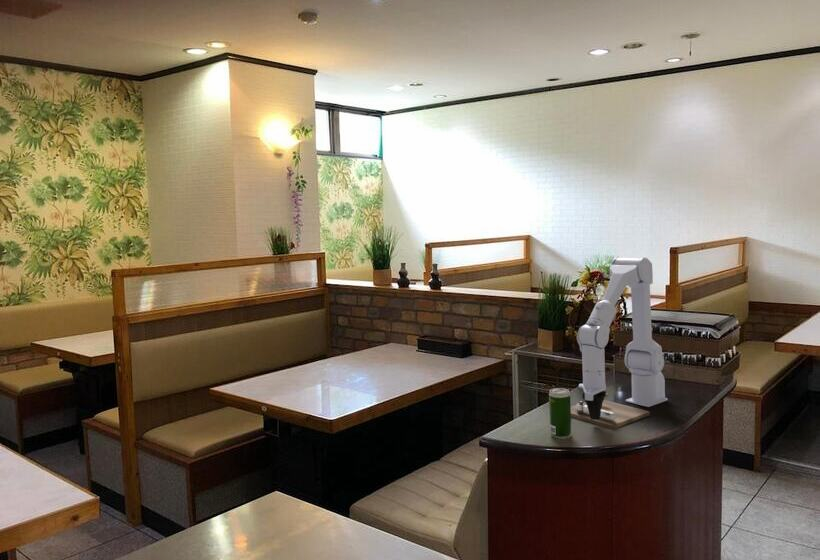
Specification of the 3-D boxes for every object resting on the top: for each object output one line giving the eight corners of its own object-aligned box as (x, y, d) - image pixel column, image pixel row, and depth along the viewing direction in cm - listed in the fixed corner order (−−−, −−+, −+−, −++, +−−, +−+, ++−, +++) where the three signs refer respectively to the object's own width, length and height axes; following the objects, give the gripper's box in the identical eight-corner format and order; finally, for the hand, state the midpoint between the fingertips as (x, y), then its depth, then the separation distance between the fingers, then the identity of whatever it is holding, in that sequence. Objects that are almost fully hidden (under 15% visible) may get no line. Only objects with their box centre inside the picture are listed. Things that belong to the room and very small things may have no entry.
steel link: (574, 411, 184) (574, 401, 183) (580, 409, 185) (580, 399, 185) (610, 421, 174) (610, 411, 173) (616, 419, 175) (616, 409, 175)
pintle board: (597, 401, 196) (597, 386, 195) (649, 415, 181) (649, 399, 180) (560, 413, 187) (560, 398, 186) (612, 429, 172) (611, 412, 171)
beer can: (561, 441, 166) (559, 395, 165) (546, 435, 170) (544, 390, 169) (576, 435, 169) (574, 390, 167) (560, 430, 173) (559, 386, 172)
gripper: (584, 362, 182) (585, 409, 184) (572, 375, 169) (574, 426, 171) (610, 363, 179) (611, 411, 180) (600, 377, 166) (601, 428, 168)
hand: (595, 418), depth 175 cm, fingers closed
